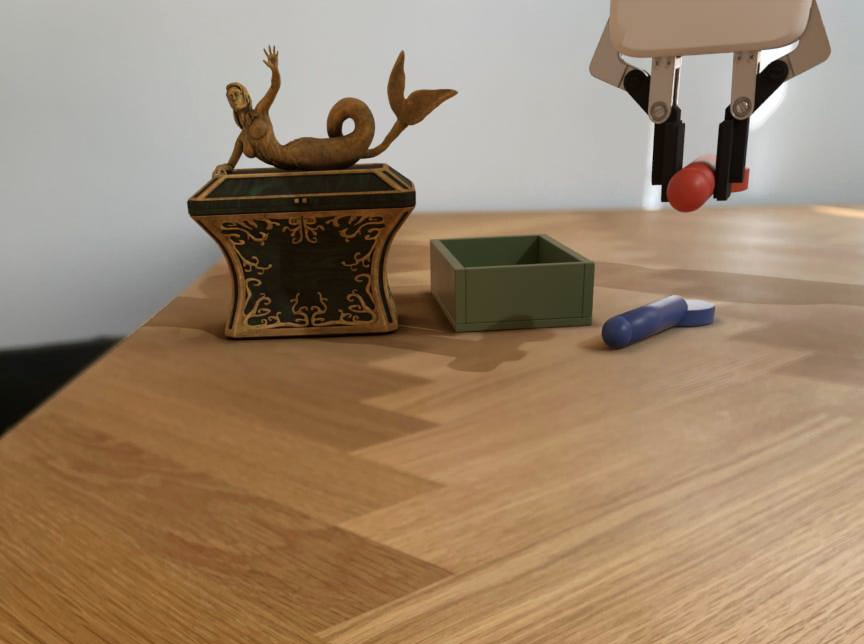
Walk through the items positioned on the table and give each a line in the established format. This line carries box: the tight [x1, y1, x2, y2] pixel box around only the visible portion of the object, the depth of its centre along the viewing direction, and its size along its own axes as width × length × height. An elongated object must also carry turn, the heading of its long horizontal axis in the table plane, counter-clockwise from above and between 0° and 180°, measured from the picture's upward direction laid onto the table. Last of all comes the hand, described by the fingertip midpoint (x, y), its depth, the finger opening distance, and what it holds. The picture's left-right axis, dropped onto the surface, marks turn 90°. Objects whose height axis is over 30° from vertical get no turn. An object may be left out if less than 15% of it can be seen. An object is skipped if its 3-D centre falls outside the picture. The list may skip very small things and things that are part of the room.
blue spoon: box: [600, 294, 716, 350], centre depth 77 cm, size 14×5×2 cm, turn 142°
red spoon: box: [667, 153, 751, 214], centre depth 60 cm, size 14×5×2 cm, turn 159°
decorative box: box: [186, 44, 459, 340], centre depth 79 cm, size 20×10×20 cm, turn 90°
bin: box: [429, 233, 596, 333], centre depth 88 cm, size 11×19×5 cm, turn 4°
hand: (696, 195), depth 59 cm, fingers closed on red spoon, 2 cm apart
